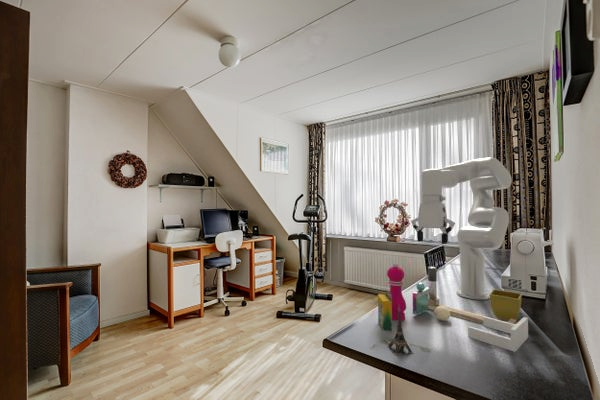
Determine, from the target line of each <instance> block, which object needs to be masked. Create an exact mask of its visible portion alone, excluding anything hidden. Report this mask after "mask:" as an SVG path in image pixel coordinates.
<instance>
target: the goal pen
mask: <svg viewBox="0 0 600 400" xmlns="http://www.w3.org/2000/svg"><path fill="white" fill-rule="evenodd" d="M483 316H484V317H483V324H482V326H483V327H486V328H491V329H493V330H497V331H501V332H504V333H507V334H510V337H507V336H504V335H500V334H497V333H494V332H490V331H486V330H484V329H481V328H478V327H477V328H476V327H473V326H468V327H467V332H468V333H467V335H468V336H467V337H468V338H470V339H475V340H477V341H480V342H483V343H486V344H488V345H489V344H490V345H493V346H495V347H498V348H502V349H505V350H508V351H511V352H513V353H516V352H517V351H518V350H519V349H520V348H521V346H522V345H523V344H524V343H525V342H526V341H527V340H528V338H529V318H528V317H525V316H523V317H522V318H520V319H519V321H518V322H516V324H512V323H508V321H506V320H502V319H498V318H497V319H496V318H493V317H488V316H486V317H485V315H483Z"/></svg>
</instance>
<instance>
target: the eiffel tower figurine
mask: <svg viewBox="0 0 600 400" xmlns="http://www.w3.org/2000/svg"><path fill="white" fill-rule="evenodd" d="M395 331H396V332H395V335H394V337H392V338H387V339H381V340H380V344H382V345H385V346H386V347H387V349H389V350H390V351H391V352H392V353H393V354H394V355H395V356H397V357H398V356H405V355H414V352H413V351H412V349H411V348H410V347H416V348H418V349H419V350H421V351H422V352H423V353H428V354H430V353H431V352H432V350H433V349H432V348H428V347H424V346H420V345H418V344H414V343H413V344H412V343H409V342H408V341H407V340H406V338H405V336H404V335H405V334H404V331H403V325H402V320H401V309H400V304H399V308H398V321H397V327H396V330H395ZM376 347H378V344H375V343H374V344H373V345H371V346H370V347H369V349H370V350H374V349H375V348H376Z"/></svg>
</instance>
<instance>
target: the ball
mask: <svg viewBox="0 0 600 400" xmlns="http://www.w3.org/2000/svg"><path fill="white" fill-rule="evenodd" d="M444 306H445V305H443V306H438V307H436V309H435V310H434V316H435V317H436V319H438V320H439V321H443V322H444V321H445V322H446V321H448V320H450V317H451V315H450V311H449V310H448V309H447V308H446V307H444Z"/></svg>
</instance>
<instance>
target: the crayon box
mask: <svg viewBox="0 0 600 400" xmlns="http://www.w3.org/2000/svg"><path fill="white" fill-rule="evenodd" d="M388 295H390V297H389V296H388ZM377 309H378V310H377V311H378V312H377V313H378V315H377V316H378V318H377V320H378V321H377V322H378V323H379V325H380V327H381V328H382V330H383V331H384V332H393V320H392V295H391V294H390V291H388V290H387V289H385V294H380V293H379V294H377Z"/></svg>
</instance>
